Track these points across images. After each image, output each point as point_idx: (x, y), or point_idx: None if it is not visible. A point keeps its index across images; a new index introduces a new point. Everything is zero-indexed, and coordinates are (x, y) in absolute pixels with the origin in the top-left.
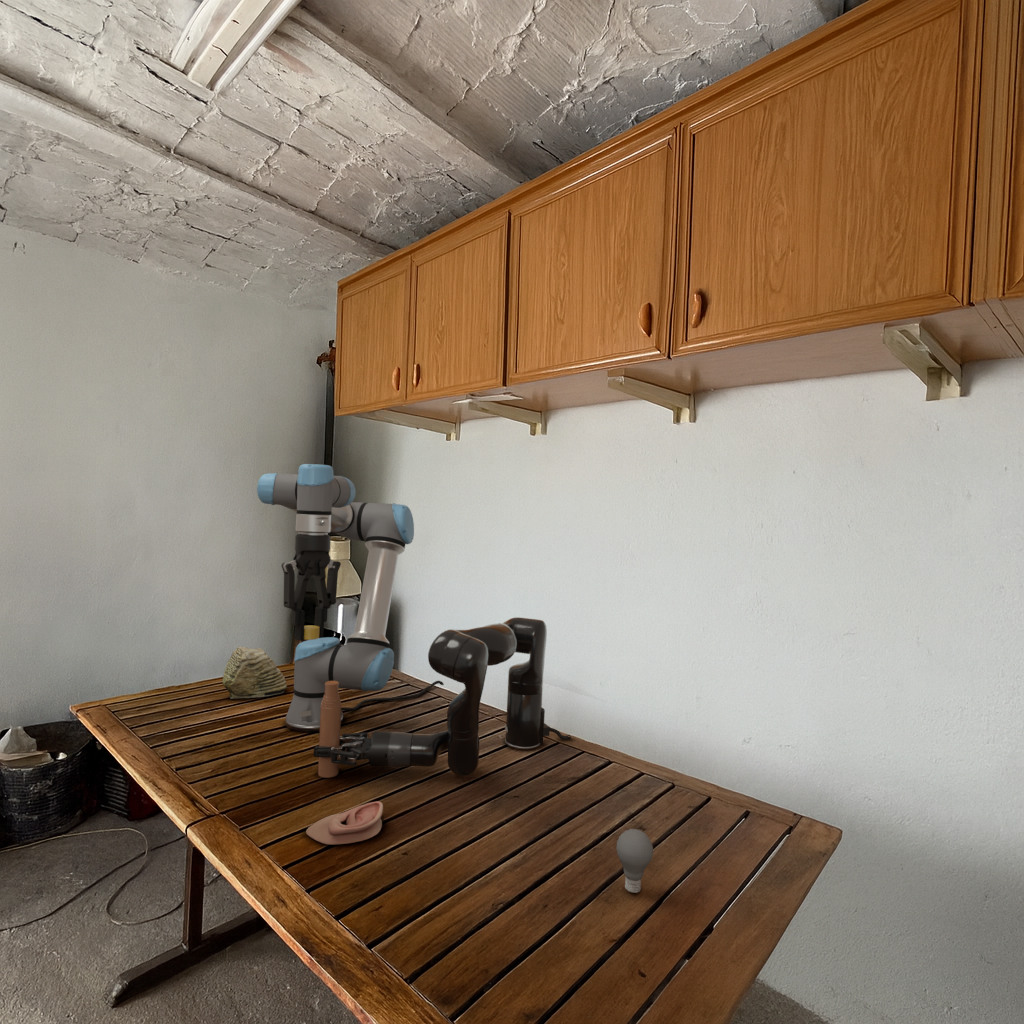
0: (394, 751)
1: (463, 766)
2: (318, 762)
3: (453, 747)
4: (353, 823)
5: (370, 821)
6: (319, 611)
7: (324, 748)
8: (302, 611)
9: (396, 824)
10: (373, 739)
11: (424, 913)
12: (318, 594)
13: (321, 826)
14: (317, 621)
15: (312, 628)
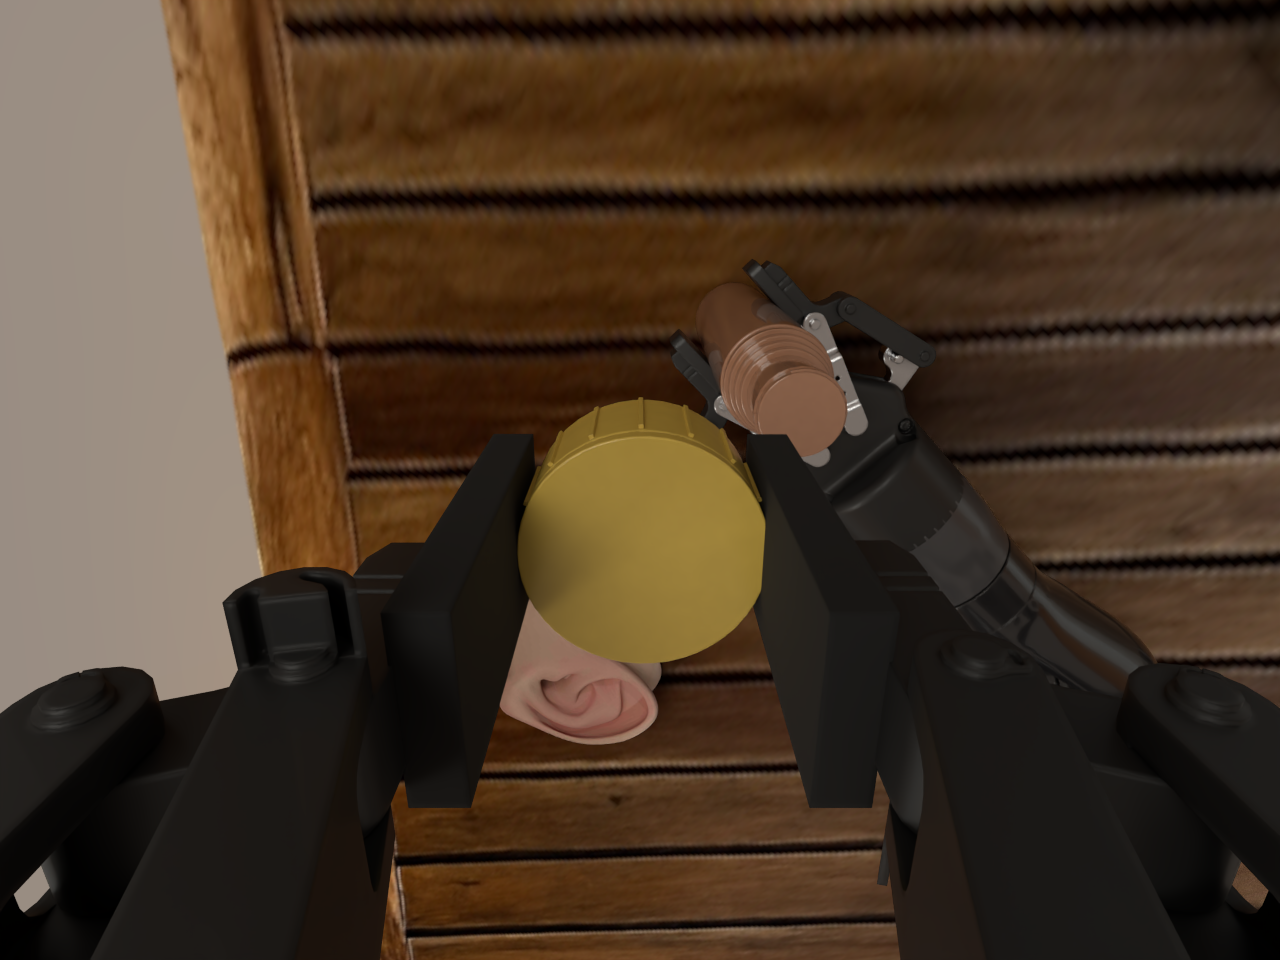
0: None
1: None
2: (703, 310)
3: None
4: (566, 699)
5: (601, 723)
6: (805, 714)
7: (701, 375)
8: (422, 805)
9: (681, 705)
10: (847, 516)
11: (525, 933)
12: (944, 942)
13: None
14: (773, 580)
15: (629, 640)
